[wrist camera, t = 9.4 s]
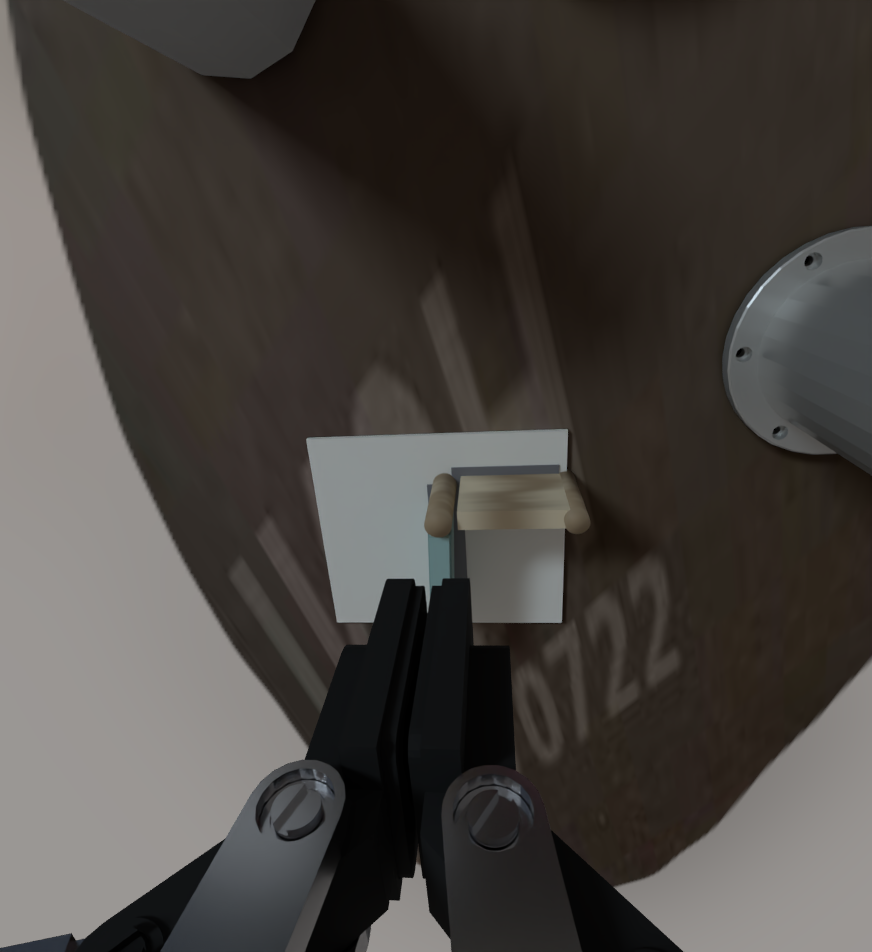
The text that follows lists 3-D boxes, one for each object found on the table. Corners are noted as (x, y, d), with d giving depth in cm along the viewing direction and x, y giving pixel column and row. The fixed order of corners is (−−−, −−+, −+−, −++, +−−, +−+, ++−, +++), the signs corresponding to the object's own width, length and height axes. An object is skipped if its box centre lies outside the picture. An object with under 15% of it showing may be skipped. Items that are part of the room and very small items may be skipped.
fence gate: (434, 501, 37) (427, 538, 33) (454, 502, 37) (450, 538, 33) (437, 606, 41) (430, 652, 36) (456, 607, 41) (452, 653, 36)
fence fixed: (575, 467, 36) (591, 510, 31) (574, 489, 37) (589, 535, 31) (432, 471, 37) (423, 513, 32) (434, 493, 38) (425, 537, 32)
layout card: (567, 429, 35) (568, 430, 35) (561, 620, 41) (562, 623, 41) (307, 437, 37) (305, 439, 37) (338, 619, 43) (336, 623, 43)
